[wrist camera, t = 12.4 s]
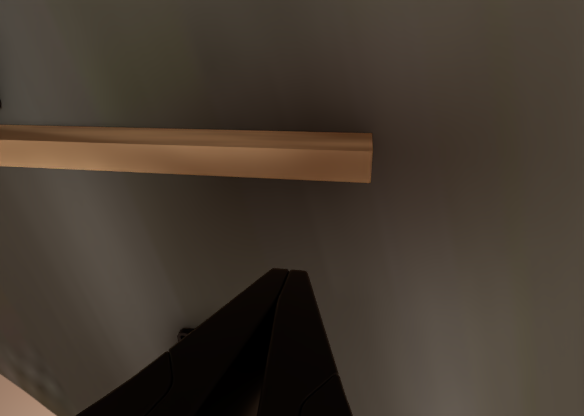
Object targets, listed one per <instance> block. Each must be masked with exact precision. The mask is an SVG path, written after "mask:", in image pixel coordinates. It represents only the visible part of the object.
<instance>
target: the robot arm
mask: <svg viewBox="0 0 584 416" xmlns="http://www.w3.org/2000/svg"><path fill="white" fill-rule="evenodd" d="M177 338H178V343H176V344H175V345H174V346H173V347H171V348H170V349H169V352H165V353H163V354H162V355H161V356H160V357H158V358H157V359H156V360H154V361H153V362H152V363H151V364H149V365H148V366H147V367H145V368H144V369H143V370H141V371H140V372H139V373H137V374H136V375H135V376H133V377H132V378H131V379H129V380H128V381H126V382H125V383H123V384H122V385H120V386H119V387H118V388H116V389H115V390H113V391H112V392H110V393H109V394H107V395H106V396H104V397H103V398H102V399H100V400H98V401H97V402H95V403H94V404H92V405H91V406H89V407H88V408H86V409H85V410H83V411H82V412H80V413H79V414H77V415H76V416H353V415H352V412H351V409H350V406H349V403H348V401H347V398H346V395H345V392H344V389H343V386H342V382H341V379H340V376H339V375H338V370H337V367H336V364H335V360H334V357H333V354H332V351H331V347H330V344H329V341H328V338H327V334H326V331H325V328H324V325H323V321H322V318H321V315H320V312H319V308H318V305H317V302H316V299H315V296H314V292H313V289H312V286H311V283H310V279H309V276H308V273H307V272H306V271H302V270H290V272H289V270H288V269H280V268H272V269H271V270H269V271H268V272H267V273H266V274H264V275H263V276H262V277H260V278H259V279H258V280H257V281H255V282H254V283H253V284H252V285H250V286H249V287H248V288H246V289H245V290H244V291H243V292H241V293H240V294H239V295H238V296H236V297H235V298H234V299H232V300H231V301H230V302H229V303H227V304H226V305H225V306H223V307H222V308H221V309H220V310H218V311H217V312H216V313H215V314H213V315H212V316H211V317H209V318H208V319H207V320H206V321H204V322H203V323H202V324H201V325H199V326H198V327H197V328H195V329H194V330H188V329H182V330H180V332H179V334H178V335H177Z"/></svg>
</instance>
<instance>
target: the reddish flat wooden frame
mask: <svg viewBox="0 0 584 416" xmlns="http://www.w3.org/2000/svg"><path fill="white" fill-rule="evenodd" d="M372 155H373V144H372V133H340V132H297V131H254V130H210V129H167V128H124V127H81V126H38V125H0V166H13V167H35V168H56V169H78V170H100V171H121V172H143V173H165V174H186V175H208V176H230V177H251V178H273V179H295V180H316V181H338V182H360V183H370V181H371V168H372Z"/></svg>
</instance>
